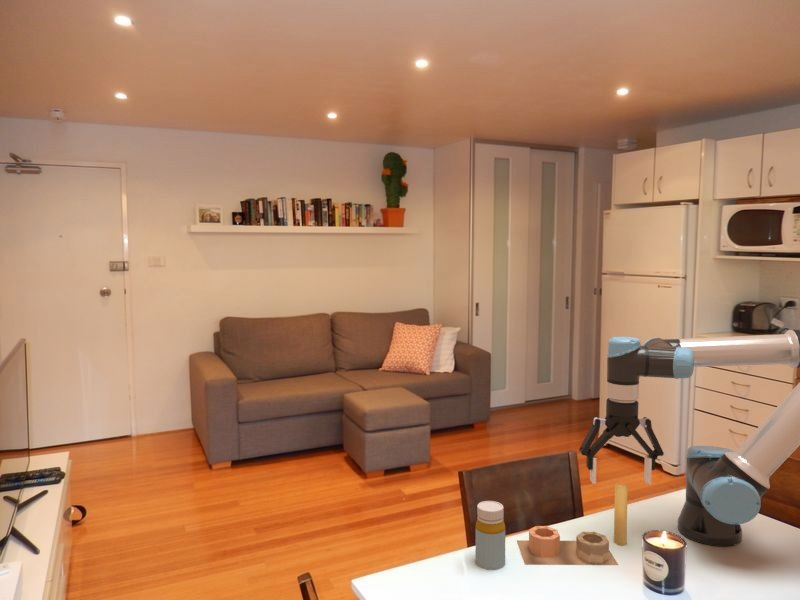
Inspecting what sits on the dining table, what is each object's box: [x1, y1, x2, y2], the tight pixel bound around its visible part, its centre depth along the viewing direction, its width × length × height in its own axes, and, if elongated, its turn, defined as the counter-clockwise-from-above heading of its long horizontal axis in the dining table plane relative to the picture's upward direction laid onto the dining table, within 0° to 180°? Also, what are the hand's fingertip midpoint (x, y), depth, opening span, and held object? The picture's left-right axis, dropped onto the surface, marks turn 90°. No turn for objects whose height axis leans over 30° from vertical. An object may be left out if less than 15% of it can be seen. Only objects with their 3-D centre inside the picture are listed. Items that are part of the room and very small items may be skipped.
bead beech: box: [575, 531, 610, 564], centre depth 145 cm, size 7×7×4 cm
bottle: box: [475, 500, 506, 571], centre depth 143 cm, size 7×7×15 cm
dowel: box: [613, 483, 629, 547], centre depth 152 cm, size 3×3×16 cm
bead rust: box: [528, 525, 561, 557], centre depth 149 cm, size 7×7×4 cm
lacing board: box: [516, 539, 619, 566], centre depth 148 cm, size 22×12×1 cm, turn 88°
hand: (620, 482), depth 151 cm, fingers open, 13 cm apart
